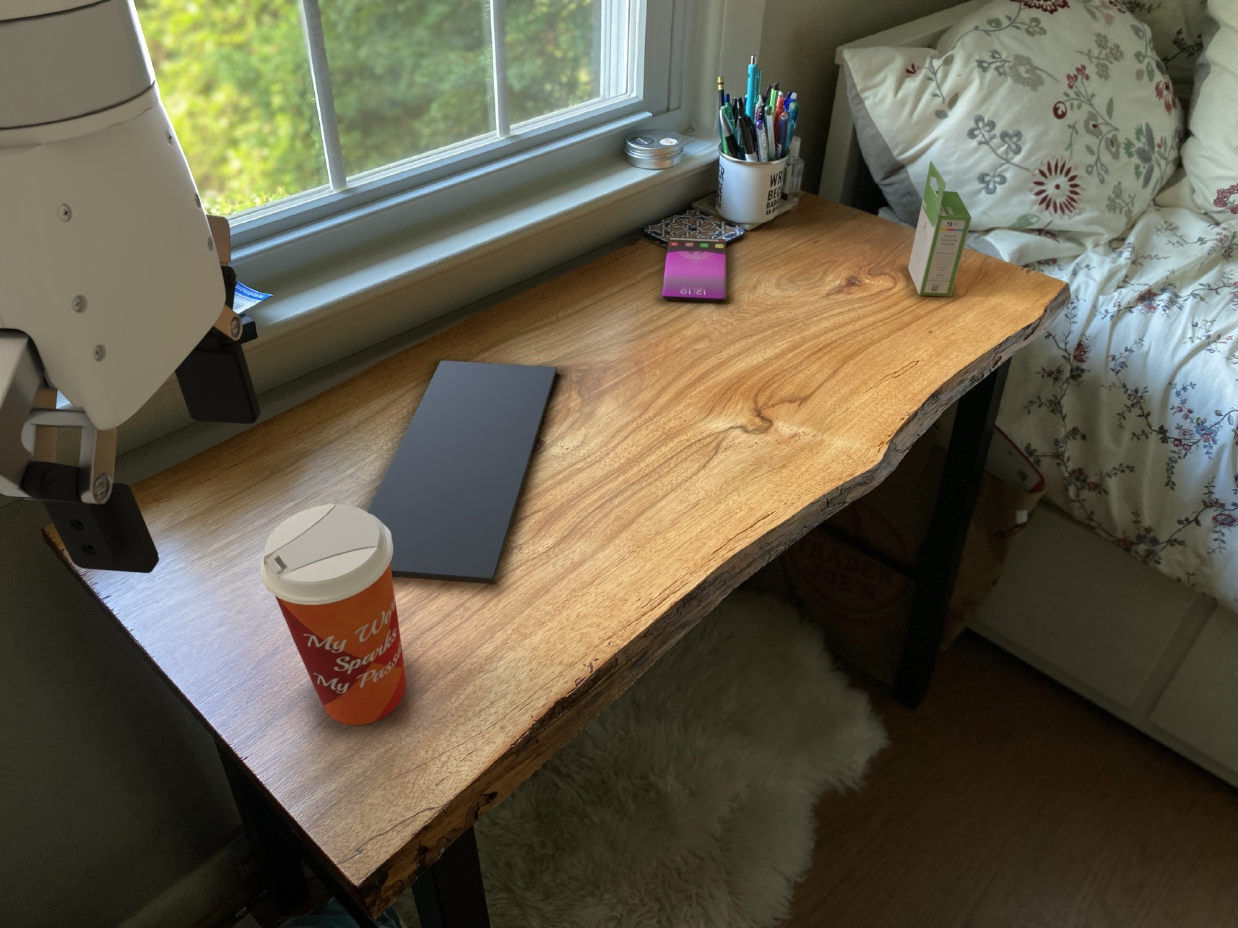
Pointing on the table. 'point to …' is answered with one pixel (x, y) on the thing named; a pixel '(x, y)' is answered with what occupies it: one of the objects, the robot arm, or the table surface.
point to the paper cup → (340, 607)
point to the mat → (462, 470)
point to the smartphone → (695, 269)
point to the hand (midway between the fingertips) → (178, 485)
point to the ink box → (938, 239)
